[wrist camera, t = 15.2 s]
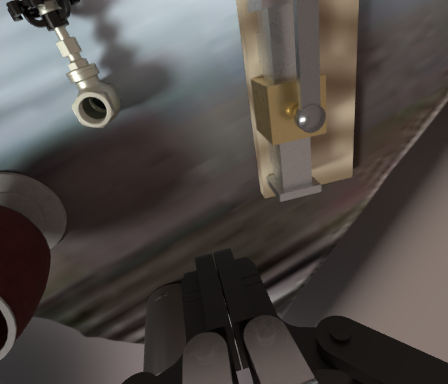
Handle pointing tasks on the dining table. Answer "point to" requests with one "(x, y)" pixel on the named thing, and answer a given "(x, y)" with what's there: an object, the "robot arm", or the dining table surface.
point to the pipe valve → (282, 101)
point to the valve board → (335, 90)
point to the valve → (72, 60)
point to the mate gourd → (25, 249)
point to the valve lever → (308, 65)
